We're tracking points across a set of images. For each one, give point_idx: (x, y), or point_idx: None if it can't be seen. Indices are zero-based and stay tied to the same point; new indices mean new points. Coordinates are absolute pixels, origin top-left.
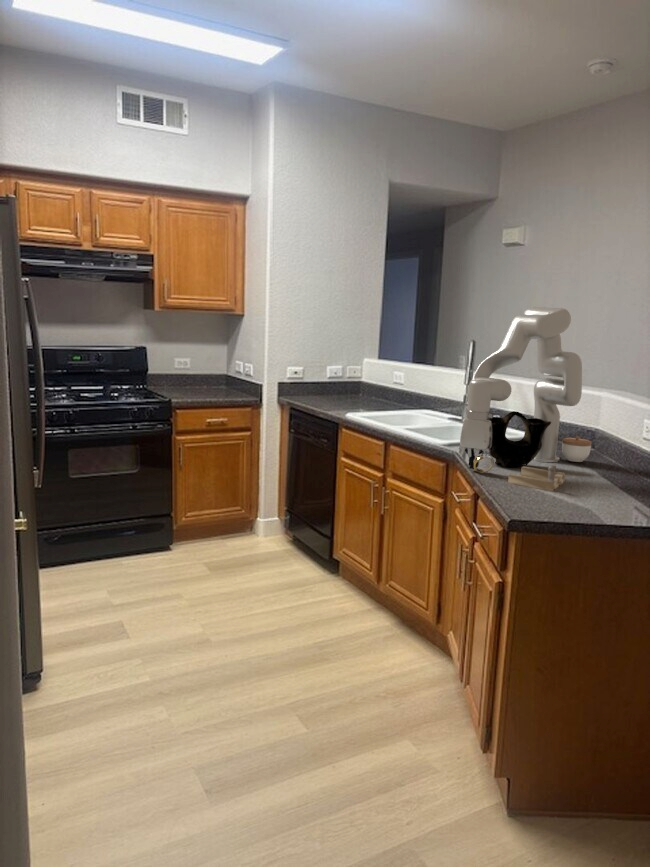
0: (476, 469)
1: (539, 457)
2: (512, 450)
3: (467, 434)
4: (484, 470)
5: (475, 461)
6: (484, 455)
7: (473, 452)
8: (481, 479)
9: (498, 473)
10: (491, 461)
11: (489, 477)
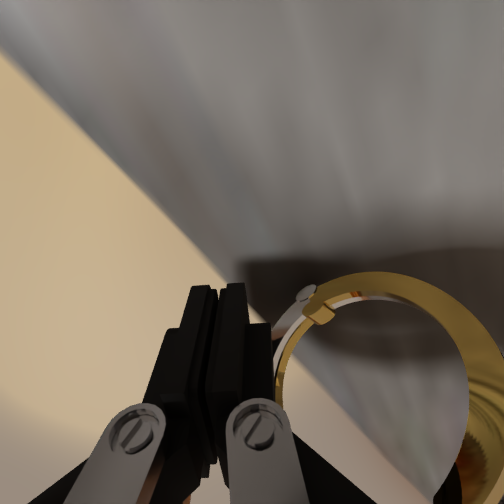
0: (284, 360)
1: None
2: None
3: None
4: (345, 297)
5: None
6: None
7: (154, 487)
8: (377, 422)
9: (475, 152)
10: (474, 374)
11: (416, 350)
